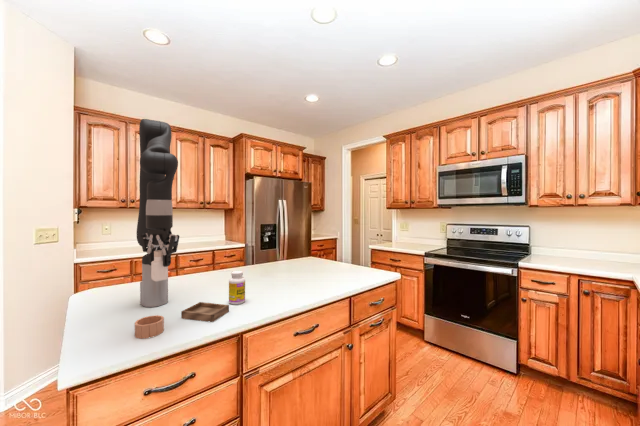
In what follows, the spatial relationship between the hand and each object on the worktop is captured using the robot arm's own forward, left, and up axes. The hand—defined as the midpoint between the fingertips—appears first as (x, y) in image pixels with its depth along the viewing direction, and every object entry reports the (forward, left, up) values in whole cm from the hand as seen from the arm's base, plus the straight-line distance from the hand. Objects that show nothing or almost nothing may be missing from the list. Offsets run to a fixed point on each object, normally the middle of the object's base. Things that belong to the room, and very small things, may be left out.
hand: (159, 265), depth 89 cm
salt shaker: (0, 0, -5) cm, 5 cm away
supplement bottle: (+11, +29, -21) cm, 38 cm away
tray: (+7, +14, -21) cm, 26 cm away
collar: (-1, -3, -21) cm, 21 cm away
